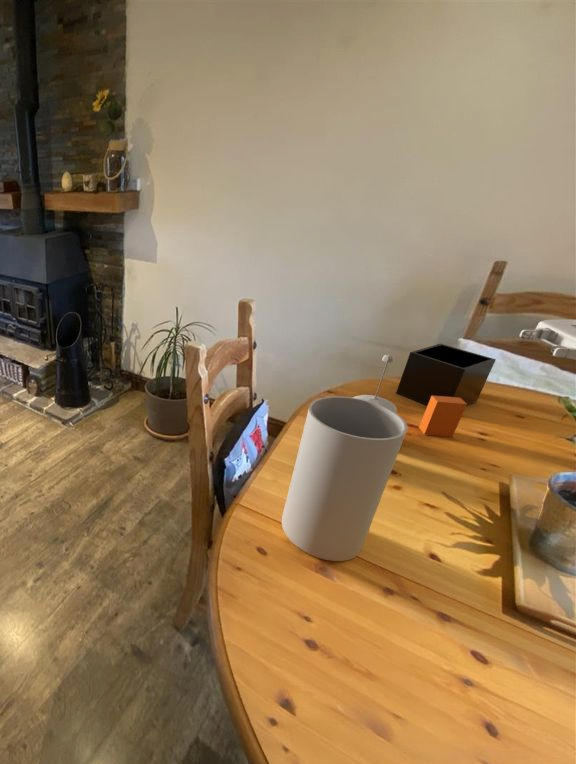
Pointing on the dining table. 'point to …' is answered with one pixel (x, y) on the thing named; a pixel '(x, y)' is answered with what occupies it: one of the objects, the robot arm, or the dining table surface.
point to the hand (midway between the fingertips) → (537, 342)
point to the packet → (442, 416)
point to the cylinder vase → (340, 475)
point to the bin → (444, 374)
